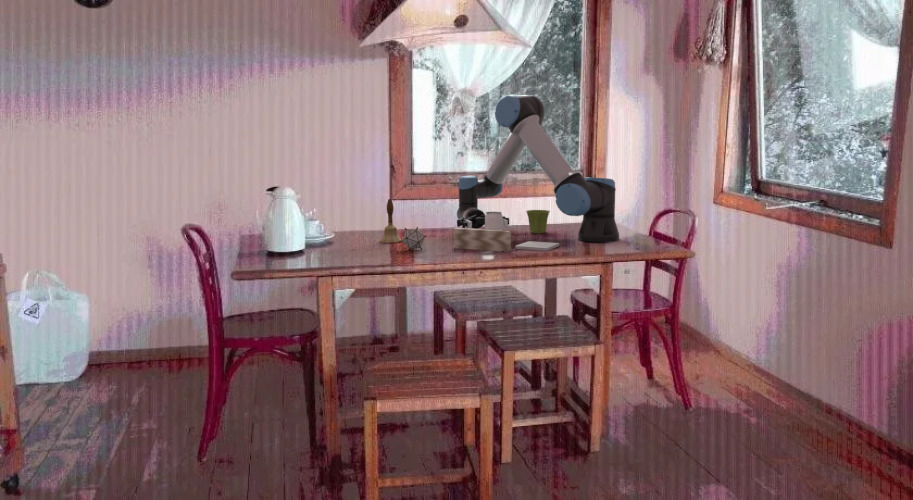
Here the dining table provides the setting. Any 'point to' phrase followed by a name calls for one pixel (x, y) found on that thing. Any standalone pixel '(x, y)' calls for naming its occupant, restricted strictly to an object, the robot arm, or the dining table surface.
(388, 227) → the hand bell
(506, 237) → the beige brown patterned panel
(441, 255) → the dining table surface
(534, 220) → the plant pot
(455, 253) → the dining table surface
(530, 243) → the pad
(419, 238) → the game die
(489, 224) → the can
